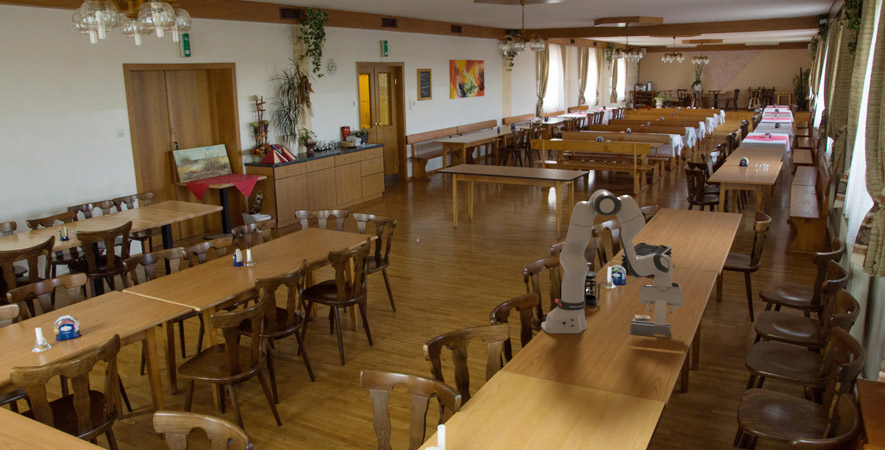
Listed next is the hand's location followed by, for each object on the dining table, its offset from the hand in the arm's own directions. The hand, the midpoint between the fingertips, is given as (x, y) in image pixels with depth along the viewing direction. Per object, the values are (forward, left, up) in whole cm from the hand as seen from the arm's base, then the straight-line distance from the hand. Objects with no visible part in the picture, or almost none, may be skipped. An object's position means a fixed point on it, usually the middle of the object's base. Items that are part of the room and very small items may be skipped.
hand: (660, 312), depth 317 cm
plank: (0, +1, -10) cm, 10 cm away
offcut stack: (-5, +10, -10) cm, 15 cm away
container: (+43, +110, -12) cm, 119 cm away
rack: (-3, +4, -11) cm, 12 cm away
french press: (-17, +51, -12) cm, 55 cm away
